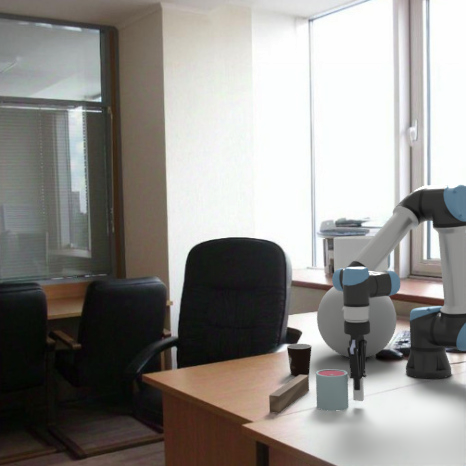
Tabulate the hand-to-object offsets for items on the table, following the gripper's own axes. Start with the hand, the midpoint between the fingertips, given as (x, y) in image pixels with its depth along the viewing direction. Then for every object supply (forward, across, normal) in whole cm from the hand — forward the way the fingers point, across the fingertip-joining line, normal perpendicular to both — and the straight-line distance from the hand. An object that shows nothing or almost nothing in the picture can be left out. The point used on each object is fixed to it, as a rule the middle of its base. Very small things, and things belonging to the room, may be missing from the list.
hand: (358, 400), depth 209 cm
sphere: (+2, -64, -18) cm, 67 cm away
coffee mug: (+2, -33, -30) cm, 45 cm away
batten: (+2, +1, -21) cm, 21 cm away
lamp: (+2, -98, -24) cm, 101 cm away
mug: (+2, 0, -7) cm, 7 cm away
